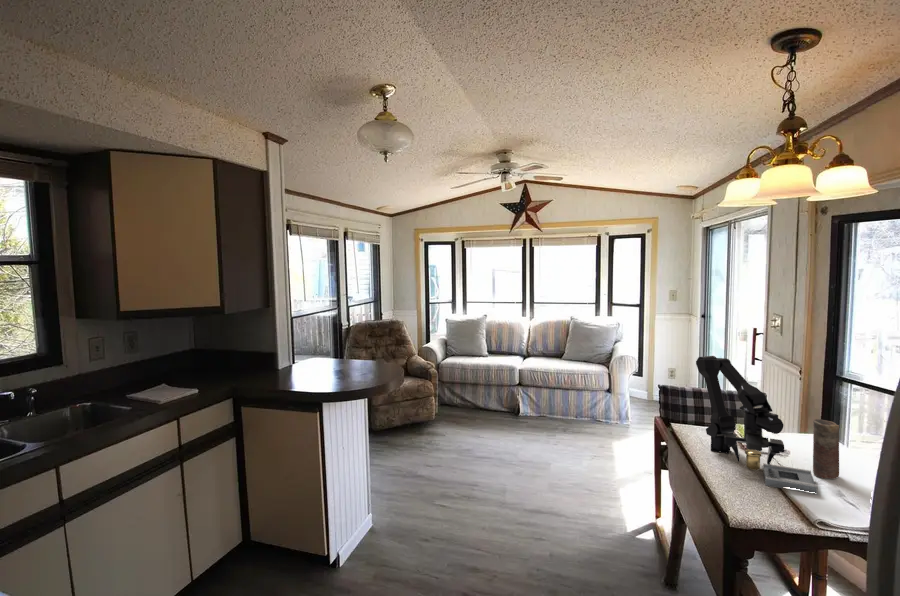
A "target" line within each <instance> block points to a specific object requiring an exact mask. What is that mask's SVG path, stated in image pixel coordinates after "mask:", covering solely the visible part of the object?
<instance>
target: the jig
mask: <svg viewBox="0 0 900 596" xmlns="http://www.w3.org/2000/svg"><path fill="white" fill-rule="evenodd" d="M762 472H763V478H764V483H765V486H766V487H771V488H777V489H783V487H790V488H796V489H800V490H804V491H809V492H815V493H817V492H818V491H817V489H818V488H817V487H818V485H817V484H816V482H815V479H814V477H813V474H812V471H811V470H810V469H804V468H798V467H791V466H790V467H789V466H783V465H776V464H772V463H770V464H767V463H765V462H763V463H762Z"/></svg>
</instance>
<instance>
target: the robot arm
mask: <svg viewBox="0 0 900 596" xmlns="http://www.w3.org/2000/svg"><path fill="white" fill-rule="evenodd" d="M695 365H696V368H697V370H698V373H699V374H700V375H701V376H702V377H703V378H704V381H705V386H706V390H707V393H708V398H709V402H710V406H711V410H712V413H711V417H710V419H709V421H710V425H709V426H708V427H706V429H705V432H706V435H707V436H709V437H710V451H711V452H717V453H724V454H730V451H731V449H732V450H733V453H734V455H735V457H736V459H737V463H740V452H739V447H738V443H739V444H746V445H745V447H746V450H756V451H759V452H761V451H763V449H767V448H768V451H767V457H766V464H771V462H772V460H773V459H774V457H775V455H777V454H778V455H779V454H780V453H785V443H784V441H783V440H782V439H777V438H776V439H775V438H770V439H769V437H764V436H763V430H764V431H766V432H769V433H771V434H774V435H778V434H780V433H781V432H782V431H783V429H784V426H785V425H784V423H783V420H781V418H779V414H777V413H772V412H773V409H772V407H771V405H770V403H769V402H768V400H767V397H766V395H765V394H764V393H763V392H762V391H761V389H759V388H758V387H756V386H754V385H751V383H749V382H748V381H747V380H746V378H744V377H743V375H742V374H741V373H740V372H739V371H738V370H737V369H736V367H734V365H733V364H732V362H731V360H730V359H729V358H726V357H725V358H723V357H716V356H715V355H708V356H706V355H705V356H699V357H697V358H696V360H695ZM720 373H721V374H722V375H723V376H724V377H725V378H726V380H727V381H728V382H729V383H730V384H731V386H732V387H733V388H734V389H735V391H736V392H737V398H738V399H739V401H740V403H741V404H742V405H741V406H740V407H739V410H741V411H743V428H744V429H743V437H739V436H738V437H737V434H736V433H734V432H735V431H736V430H737V429H736V426H737V424H736V421H735V417H734V415H732V414H731V415H730V413H728V411H727V409H726V408H727V407H726V405H725V400H724V397H723V393H722V389H721V385H720V380H719V374H720Z"/></svg>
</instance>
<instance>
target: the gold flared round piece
mask: <svg viewBox="0 0 900 596" xmlns="http://www.w3.org/2000/svg"><path fill="white" fill-rule="evenodd" d="M744 454H745V456H746V458H745V460H746V461H745V464H746V466H745V467H746V468H747V469H749V470H752V471H759V470H761V457H762V452H761V451H757V450H749V449H746V450H744Z"/></svg>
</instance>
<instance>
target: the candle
mask: <svg viewBox="0 0 900 596" xmlns="http://www.w3.org/2000/svg"><path fill="white" fill-rule="evenodd" d="M812 429H813V438H812V439H813V445H812V473H813V475H814V476H816V477H818V478H821V479H831V480H834V479H837V478H839V477H840V425H839V424H837V423H836V422H834V421H830V420H826V419H820V418H815V419H813V428H812Z"/></svg>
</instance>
